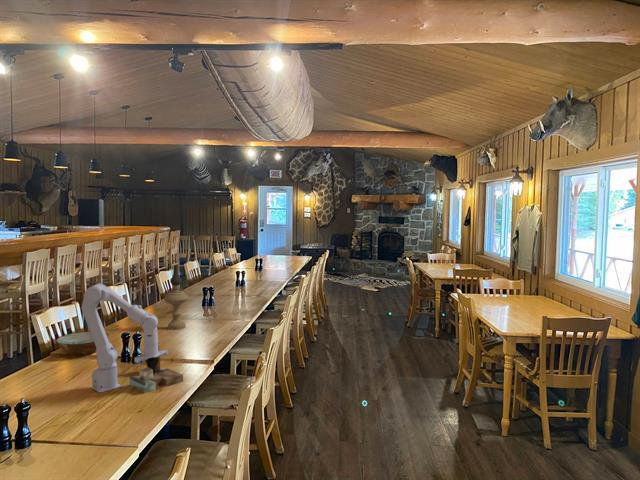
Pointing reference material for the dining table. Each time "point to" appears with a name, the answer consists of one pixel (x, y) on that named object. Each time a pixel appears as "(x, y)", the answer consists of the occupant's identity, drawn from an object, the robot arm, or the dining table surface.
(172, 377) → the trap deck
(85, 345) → the bowl
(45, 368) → the dining table surface
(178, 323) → the oil lamp
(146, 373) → the block
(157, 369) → the condiment
